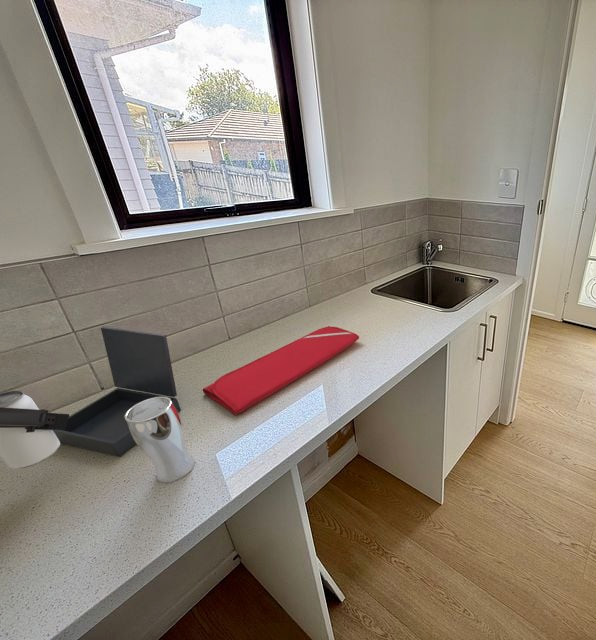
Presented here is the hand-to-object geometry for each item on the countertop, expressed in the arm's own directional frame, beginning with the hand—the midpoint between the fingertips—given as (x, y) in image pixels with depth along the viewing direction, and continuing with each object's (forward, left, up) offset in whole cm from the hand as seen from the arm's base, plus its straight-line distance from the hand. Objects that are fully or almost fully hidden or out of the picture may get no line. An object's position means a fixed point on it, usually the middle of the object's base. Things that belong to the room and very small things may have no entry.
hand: (42, 424), depth 61 cm
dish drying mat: (+23, +40, -11) cm, 47 cm away
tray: (-1, +11, -10) cm, 15 cm away
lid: (-1, +19, +1) cm, 19 cm away
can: (+1, -3, -4) cm, 5 cm away
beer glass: (+21, +4, -11) cm, 24 cm away
